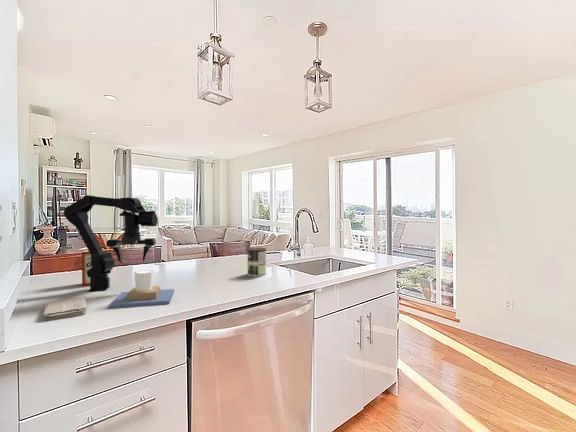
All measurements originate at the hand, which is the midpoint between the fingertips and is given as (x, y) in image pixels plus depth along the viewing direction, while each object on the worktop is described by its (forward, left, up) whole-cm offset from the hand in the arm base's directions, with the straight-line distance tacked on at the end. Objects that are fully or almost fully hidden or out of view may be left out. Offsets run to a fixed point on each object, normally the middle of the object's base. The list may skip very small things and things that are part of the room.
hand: (132, 262), depth 135 cm
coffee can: (+58, +18, -12) cm, 62 cm away
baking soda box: (-20, +17, -12) cm, 29 cm away
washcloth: (-16, -26, -13) cm, 33 cm away
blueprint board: (+8, -18, -12) cm, 23 cm away
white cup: (+8, -18, -8) cm, 21 cm away
